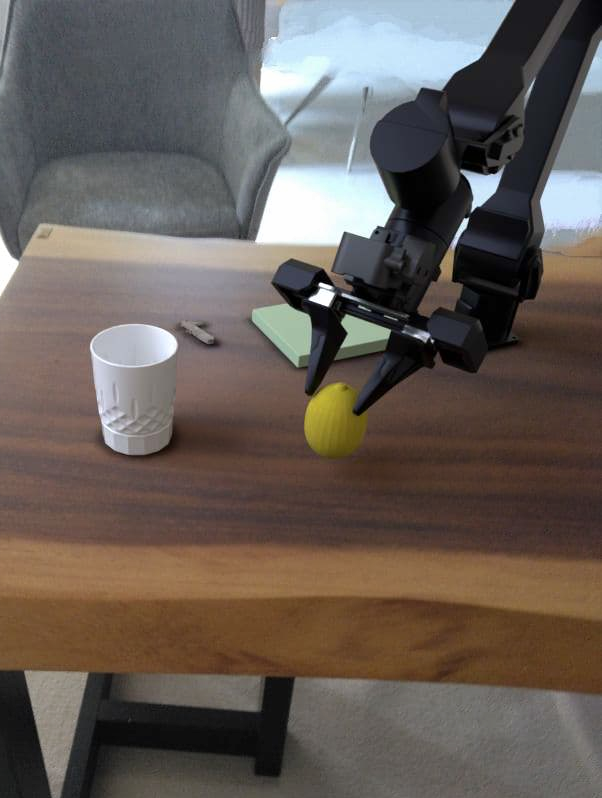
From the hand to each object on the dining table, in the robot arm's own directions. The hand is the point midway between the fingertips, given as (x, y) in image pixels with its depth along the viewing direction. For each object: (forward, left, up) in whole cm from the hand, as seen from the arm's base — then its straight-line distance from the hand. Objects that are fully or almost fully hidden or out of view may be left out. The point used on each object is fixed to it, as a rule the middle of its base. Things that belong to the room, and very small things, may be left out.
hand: (330, 404), depth 68 cm
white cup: (+14, -12, -8) cm, 20 cm away
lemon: (-1, -1, -7) cm, 7 cm away
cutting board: (-15, -24, -8) cm, 30 cm away
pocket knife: (0, -29, -8) cm, 30 cm away
